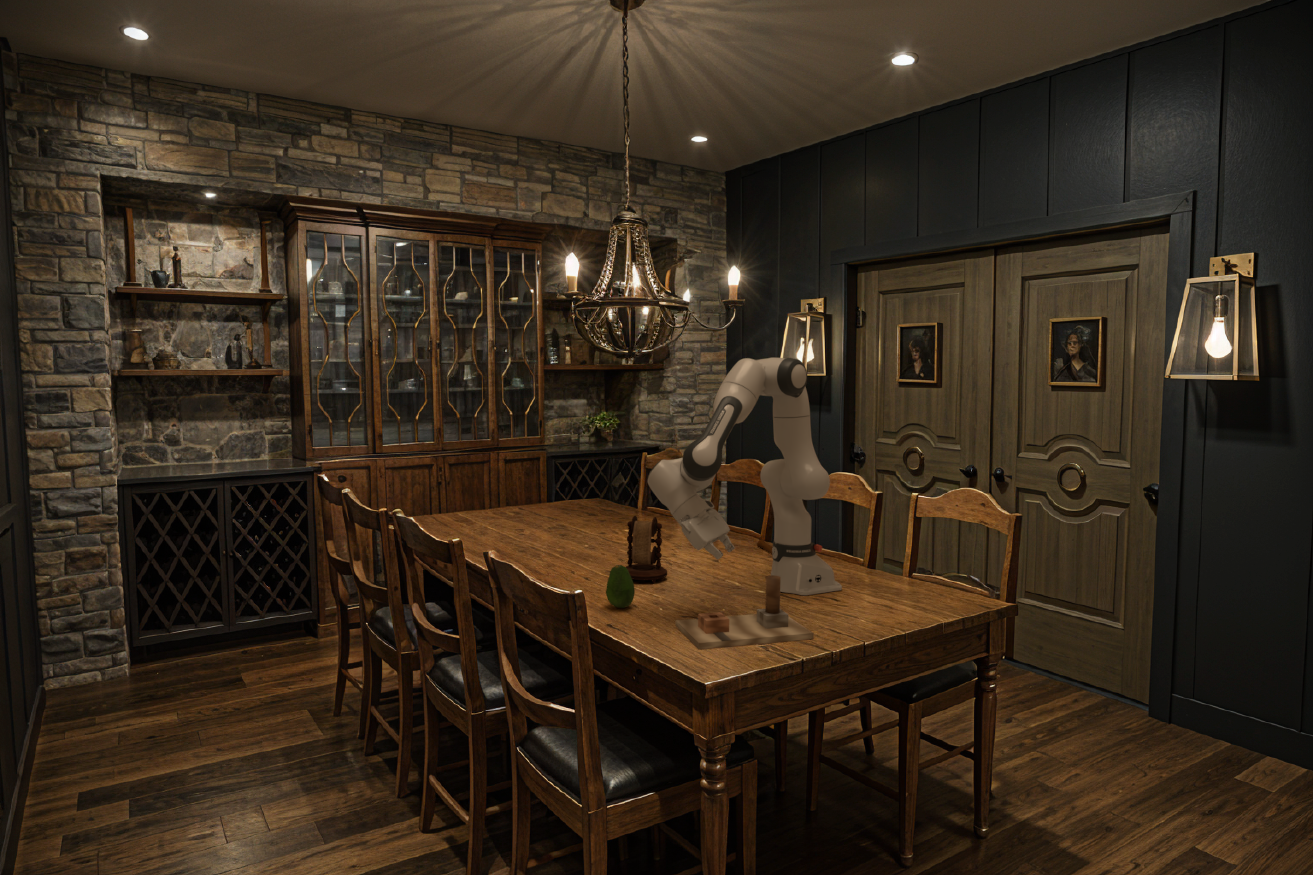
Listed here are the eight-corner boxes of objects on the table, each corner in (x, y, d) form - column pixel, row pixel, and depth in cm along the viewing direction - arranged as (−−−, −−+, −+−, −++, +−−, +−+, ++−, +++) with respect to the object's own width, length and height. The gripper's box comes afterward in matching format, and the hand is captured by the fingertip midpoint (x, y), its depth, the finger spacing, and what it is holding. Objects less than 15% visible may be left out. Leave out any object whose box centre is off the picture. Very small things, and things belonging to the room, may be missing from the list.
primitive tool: (792, 558, 285) (792, 549, 284) (779, 560, 282) (779, 550, 282) (764, 547, 302) (764, 538, 302) (751, 549, 300) (751, 540, 300)
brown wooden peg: (775, 620, 205) (776, 574, 204) (781, 624, 202) (783, 578, 201) (762, 621, 204) (764, 575, 203) (768, 625, 201) (769, 579, 200)
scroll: (614, 582, 248) (614, 518, 246) (629, 571, 262) (630, 511, 260) (659, 586, 243) (660, 521, 242) (672, 575, 258) (673, 514, 256)
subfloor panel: (781, 617, 214) (782, 600, 214) (813, 638, 197) (814, 620, 196) (675, 625, 205) (675, 608, 205) (698, 649, 188) (699, 629, 188)
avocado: (609, 602, 225) (609, 561, 224) (636, 604, 224) (637, 562, 223) (602, 611, 217) (603, 567, 216) (631, 612, 216) (631, 569, 215)
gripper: (686, 511, 199) (722, 554, 196) (713, 500, 218) (746, 539, 215) (669, 527, 202) (704, 569, 198) (697, 515, 220) (730, 553, 217)
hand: (726, 553), depth 207 cm, fingers open, 8 cm apart
